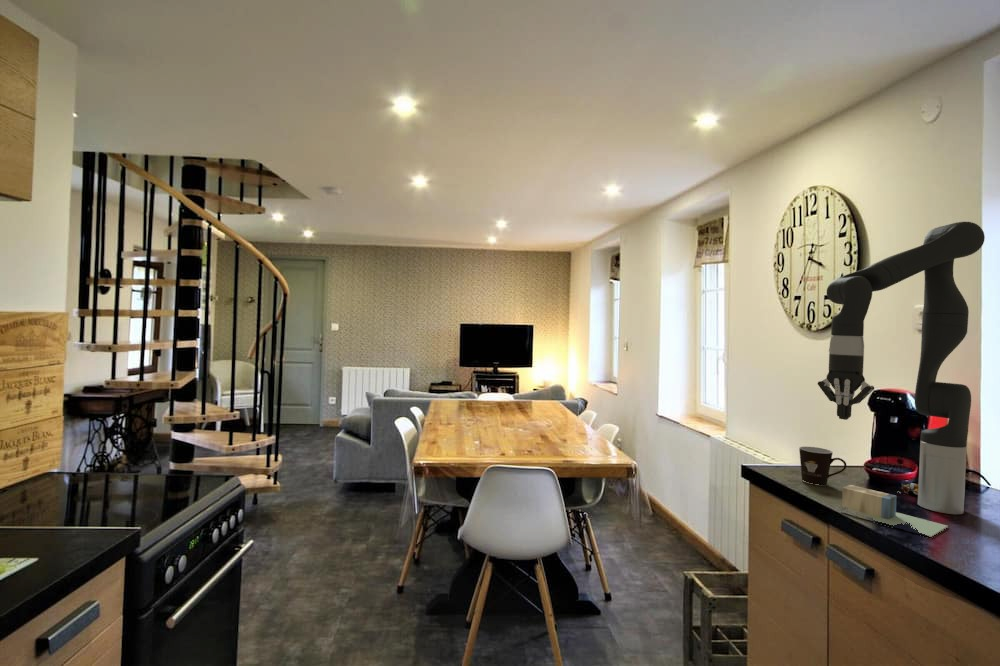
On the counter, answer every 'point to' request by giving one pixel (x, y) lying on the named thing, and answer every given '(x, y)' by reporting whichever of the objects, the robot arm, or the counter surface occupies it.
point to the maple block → (869, 501)
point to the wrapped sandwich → (910, 488)
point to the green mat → (912, 523)
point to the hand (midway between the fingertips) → (843, 418)
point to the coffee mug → (817, 464)
